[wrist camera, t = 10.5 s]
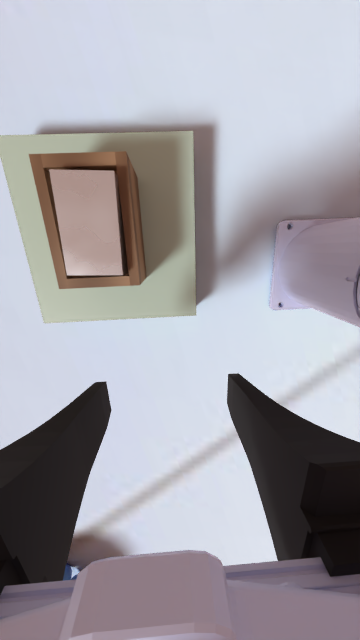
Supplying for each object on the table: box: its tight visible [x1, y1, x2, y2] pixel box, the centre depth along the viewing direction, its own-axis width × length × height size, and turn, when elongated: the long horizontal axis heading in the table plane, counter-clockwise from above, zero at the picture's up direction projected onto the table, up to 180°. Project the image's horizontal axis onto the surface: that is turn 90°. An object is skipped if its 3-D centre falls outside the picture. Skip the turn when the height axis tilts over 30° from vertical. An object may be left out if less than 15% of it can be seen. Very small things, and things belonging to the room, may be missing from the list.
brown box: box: [29, 151, 147, 289], centre depth 14 cm, size 5×7×4 cm
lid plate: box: [49, 169, 128, 275], centre depth 12 cm, size 3×5×2 cm, turn 0°
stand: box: [0, 131, 196, 323], centre depth 17 cm, size 13×13×2 cm
